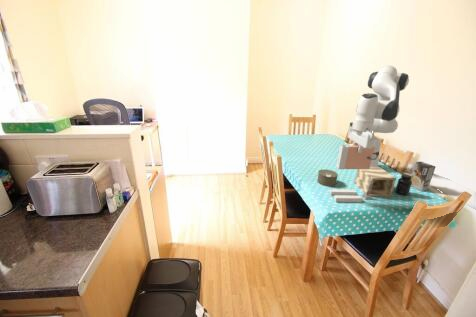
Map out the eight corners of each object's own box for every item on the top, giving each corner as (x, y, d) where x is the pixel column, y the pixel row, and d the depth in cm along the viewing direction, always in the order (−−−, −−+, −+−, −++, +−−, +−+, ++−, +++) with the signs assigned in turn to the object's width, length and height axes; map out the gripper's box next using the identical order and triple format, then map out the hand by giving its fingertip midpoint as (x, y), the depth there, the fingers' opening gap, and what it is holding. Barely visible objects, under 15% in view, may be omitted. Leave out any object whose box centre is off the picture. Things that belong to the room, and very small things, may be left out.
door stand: (328, 193, 138) (329, 189, 137) (353, 193, 138) (354, 189, 137) (335, 201, 129) (336, 198, 128) (361, 202, 129) (362, 198, 128)
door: (336, 166, 129) (340, 145, 124) (366, 167, 129) (371, 145, 124) (339, 170, 125) (343, 147, 120) (370, 170, 125) (376, 148, 120)
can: (335, 179, 155) (336, 170, 153) (337, 187, 144) (339, 178, 142) (316, 177, 158) (318, 168, 156) (317, 185, 147) (318, 175, 145)
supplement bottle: (395, 189, 144) (400, 172, 140) (408, 192, 140) (414, 175, 136) (394, 193, 139) (399, 175, 135) (407, 197, 135) (413, 179, 131)
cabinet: (349, 183, 150) (353, 166, 146) (375, 183, 150) (379, 167, 146) (365, 199, 132) (369, 180, 127) (395, 199, 132) (400, 181, 128)
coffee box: (428, 189, 144) (436, 166, 138) (421, 191, 142) (429, 167, 136) (413, 183, 152) (420, 161, 146) (406, 184, 150) (414, 162, 144)
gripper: (380, 131, 109) (373, 158, 114) (359, 122, 128) (354, 145, 133) (367, 131, 109) (361, 158, 114) (348, 121, 128) (343, 145, 133)
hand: (357, 151), depth 123 cm, fingers closed on door, 2 cm apart
